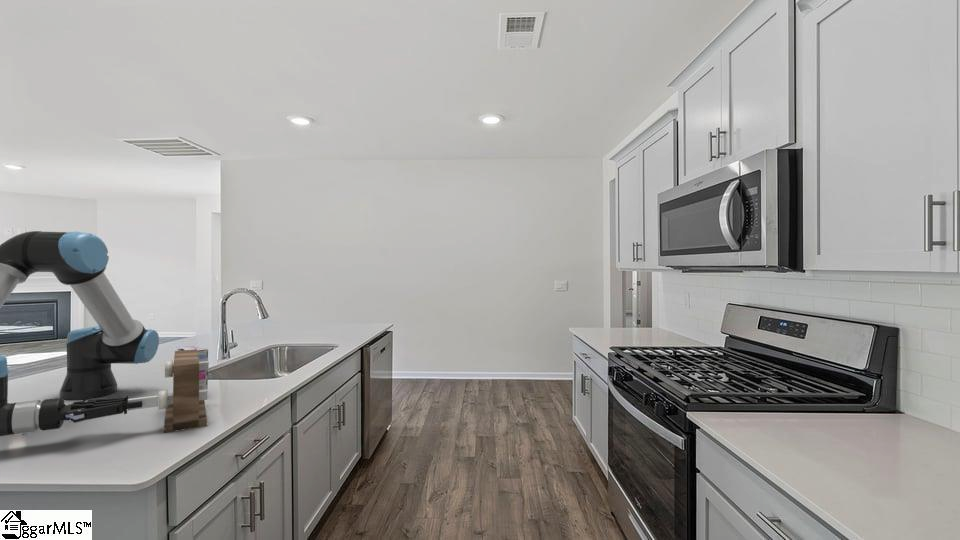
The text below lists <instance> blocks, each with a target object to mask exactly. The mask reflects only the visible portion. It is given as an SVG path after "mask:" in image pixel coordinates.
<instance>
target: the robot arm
mask: <svg viewBox="0 0 960 540" xmlns="http://www.w3.org/2000/svg"><path fill="white" fill-rule="evenodd" d="M108 254H109V250H108V247H107V245H106V243H105V242H104V241H103V240H102V239H101V238H100V237H99V236H97V235H96V234H93V233H90V232H89V233H88V232H81V231H69V232H68V231H66V232H65V231H42V230H41V231H35V230H34V231H25V232H22V233H19V234H16V235H15V236H12V237H11V238H8V239H6V240H5V241H4V242H2V243H1V244H0V309H1V308H2V307H3V306H4V304H5V303H6V301H7V300H8V298H9V297H10V296H11V294H12V292H13V291H14V290H15V288H16V287H17V286H18V285H19V284H23V283H25V282H26V281H27V280H28V278H29V277H30V275H33V274H34V273H52V274H53V275H54V276H55V277H56V279H57V280H58V281H59V283H61V284H63V285H66V286H70V287H71V289H72V290H73V292H74V293H75V294H76V296H77V297H78V298H79V300H80V301H81V303H82V304H83V305H84V307H85V308H86V310H87V312H89V314H90V316H91V317H92V319H93V320H94V321H95V322H96V324H97V326H90V327H84V328H79V329H73V330H71V331H69V332H68V334H67V337H66V338H67V339H66V374H65V378H64V380H63V383H62V385H61V386H60V387H61V388H60V389H59V397H55V398H47V399H46V398H45V399H43V400H42V401H41V400H39V399H34V400H28V401H19V402H10V403H8V396H9V395H8V392H9V388H8V385H9V373H10V372H9V369H8V359H7V357H6V356H5V355H4V354H0V437H6V436H14V435H20V434H21V435H22V436H27V435H28V433H34V432H36V433H37V432H38V431H39V430H41V431H42V432H44V431H50V430H51V431H52V430H58V429H61V428H62V427H63V425H64V421H71V422H72V423H75V424H76V423H80V422H83V421H87V420H92V419H93V420H94V419H98V418H104V417H110V416H115V415H121V414H123V415H127V414H128V411H133V410H141V409H148V408H157V407H158V397H159V394H158V395H152V396H151V395H150V396H149V395H148V396H143V397H142V396H141V397H134V398H129V395H125V396H122V397H110V398H108V397H107V398H99V397H103V396H107V395H111V394H113V393H115V392H117V391H118V383H117V379H116V377H115V375H114V373H113V371H112V364H121V365H123V364H124V365H125V364H129V365H130V364H134V365H137V364H146V363H149V362H150V361H152V360H153V358H154V357H155V356H156V354H157V351H158V349H159V344H160V336H159V333H158V332H157V330H155V329H151V328H149V329H146V328H145V326H144V324H143V323H142V322H141V321H139V320H138V319H134V318H133V317H132V316H131V314H130V312H129V311H128V310H127V307H126V306H125V304H124V303H123V301H122V299H121V298H120V297H119V295H118V293H117V292H116V290H115V288H114V287H113V285H112V283H111V282H110V280H109V279H108V277H107V275H106V274H105V271H106V269H107V265H108V263H109V258H110V257H109V255H108ZM93 398H97V399H93ZM65 400H67V401H69V400H71V401H72V400H73V402H72V403H70V404H65ZM74 400H79V401H74Z"/></svg>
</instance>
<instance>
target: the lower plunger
mask: <svg viewBox="0 0 960 540" xmlns="http://www.w3.org/2000/svg"><path fill="white" fill-rule="evenodd" d="M168 391H169V390H168V389H166V390H159V391H158V411H159V410H166V409H167V408H168V405H169V404H173V392H172V393H169V392H168ZM199 400H204V401H207V400H208V388H207V389H204V390H199Z"/></svg>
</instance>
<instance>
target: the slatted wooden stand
mask: <svg viewBox="0 0 960 540" xmlns="http://www.w3.org/2000/svg"><path fill="white" fill-rule="evenodd" d="M173 364H174V365H173V377H172V378H173V380H172V382H173V387H172V389H173V390H172V393H173V404H169V405H168V408H167V409H165V413H164V414H165V415H164V422H163V423H164V424H163V433H164V432H165V433H171V432H170V431H172V432H177V431H176V430H178V431H183V430H182V429H184V430H190V428H191V429H197V428H203V427H208V416H207V409H206V400H199V359H198V352H197V349H194V350H181V351H178V350H174V355H173ZM202 426H203V427H202ZM196 427H197V428H196Z"/></svg>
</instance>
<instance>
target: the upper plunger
mask: <svg viewBox="0 0 960 540" xmlns="http://www.w3.org/2000/svg"><path fill="white" fill-rule="evenodd" d="M173 365H174V360H165V362H164V378H173ZM202 370H208V371H209V370H210V369H209V360H208V361H202V362H199V371H202Z"/></svg>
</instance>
